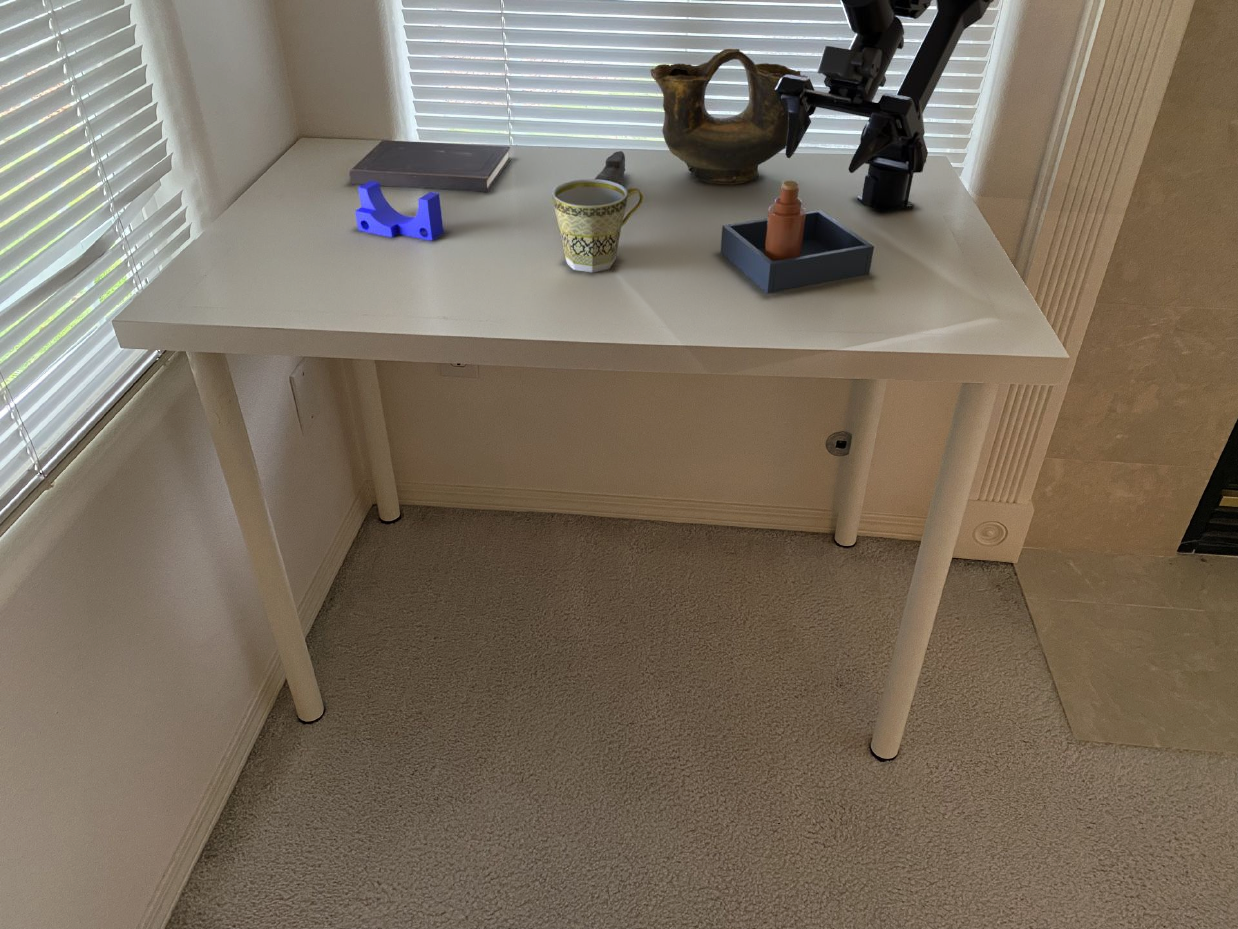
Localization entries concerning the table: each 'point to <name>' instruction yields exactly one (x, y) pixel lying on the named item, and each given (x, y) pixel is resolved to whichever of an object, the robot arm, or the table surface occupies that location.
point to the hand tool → (614, 168)
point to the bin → (822, 254)
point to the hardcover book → (432, 165)
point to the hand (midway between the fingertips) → (818, 163)
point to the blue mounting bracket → (398, 215)
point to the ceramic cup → (591, 221)
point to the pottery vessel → (723, 119)
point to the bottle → (785, 224)
